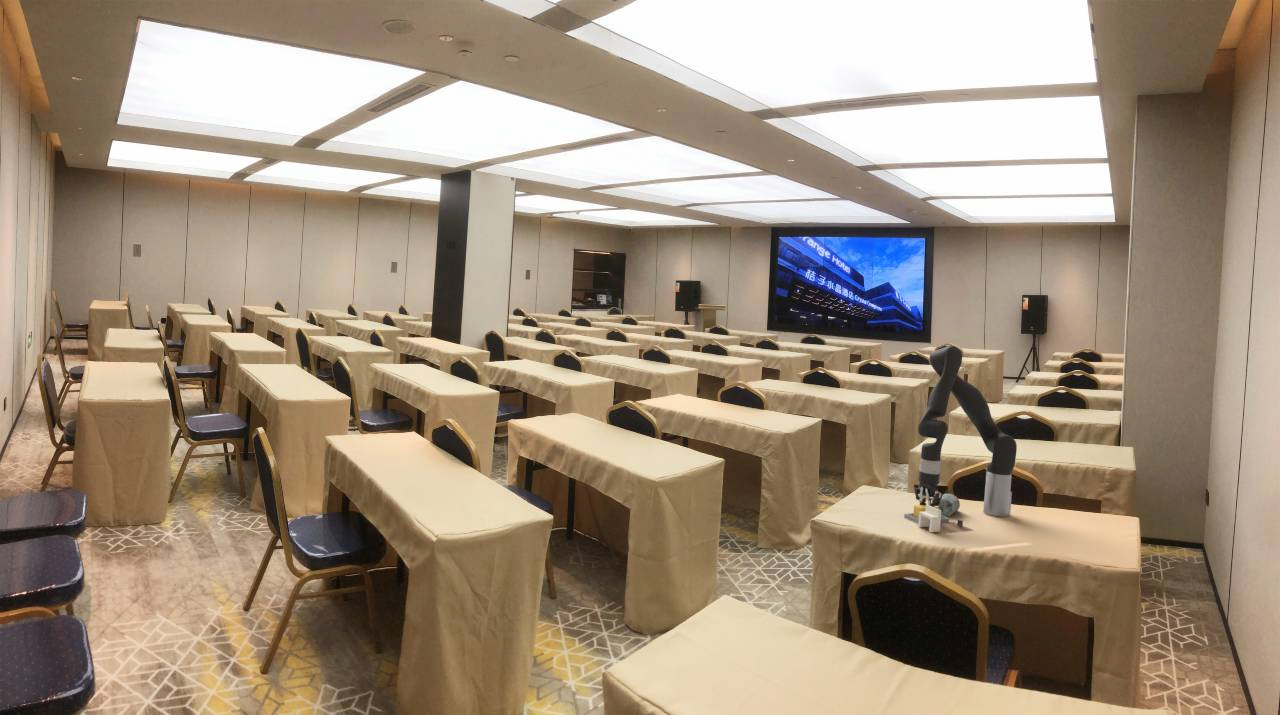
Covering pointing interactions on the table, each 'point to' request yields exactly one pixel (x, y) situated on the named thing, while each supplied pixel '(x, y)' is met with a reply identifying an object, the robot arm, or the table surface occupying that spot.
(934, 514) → the white stepped block
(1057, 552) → the table surface
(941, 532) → the clamp board
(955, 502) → the streaked grey-blue ovoid
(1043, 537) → the table surface
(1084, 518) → the table surface
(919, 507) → the yellow rectangular block
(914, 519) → the tray
